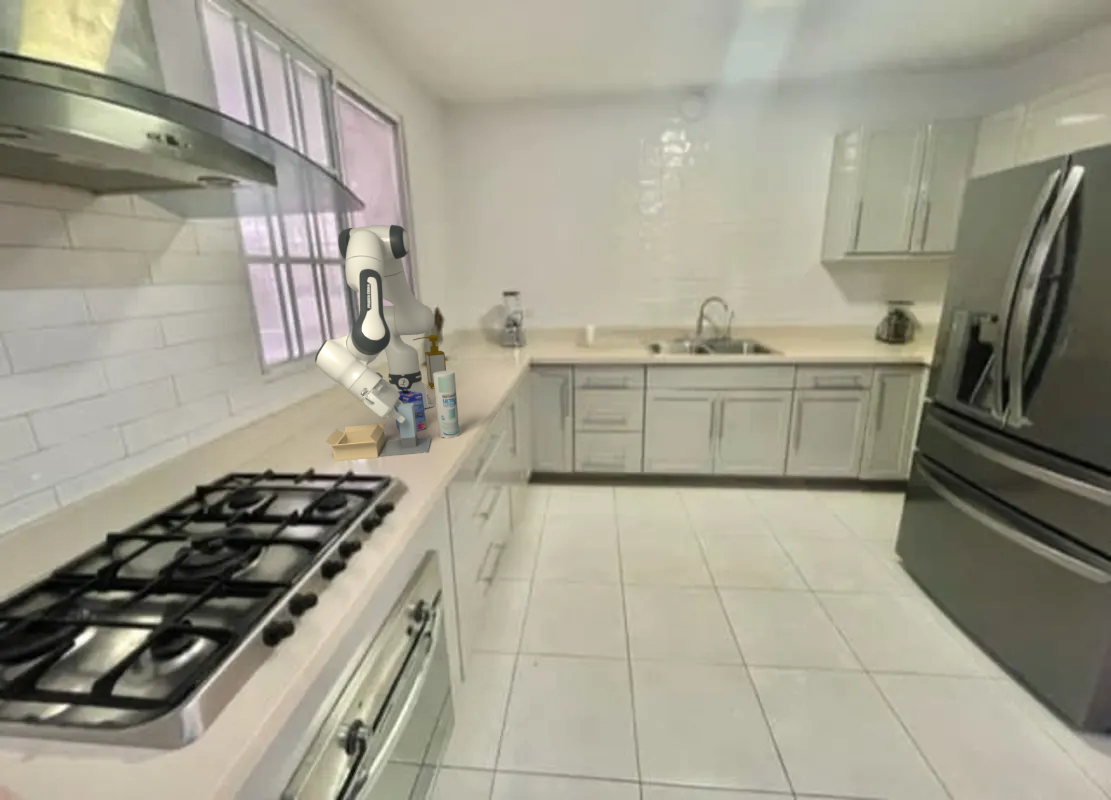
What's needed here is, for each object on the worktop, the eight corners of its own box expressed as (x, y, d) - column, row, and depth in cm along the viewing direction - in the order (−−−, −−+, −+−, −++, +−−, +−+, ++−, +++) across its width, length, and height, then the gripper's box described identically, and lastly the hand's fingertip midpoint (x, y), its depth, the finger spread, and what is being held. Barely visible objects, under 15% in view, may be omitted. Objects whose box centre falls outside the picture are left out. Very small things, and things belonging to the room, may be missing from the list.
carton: (340, 444, 165) (338, 425, 164) (386, 440, 167) (384, 421, 166) (325, 464, 147) (321, 443, 146) (376, 459, 149) (374, 439, 148)
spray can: (444, 439, 165) (438, 375, 161) (435, 435, 170) (429, 372, 166) (463, 435, 169) (458, 372, 164) (454, 431, 174) (449, 369, 169)
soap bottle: (416, 387, 247) (410, 335, 241) (443, 383, 252) (439, 333, 246) (419, 390, 240) (414, 337, 235) (447, 386, 245) (442, 334, 240)
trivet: (387, 442, 165) (387, 440, 164) (431, 439, 166) (430, 437, 166) (380, 456, 152) (380, 454, 152) (427, 452, 154) (427, 450, 154)
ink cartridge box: (395, 428, 180) (390, 385, 177) (409, 424, 185) (404, 382, 181) (413, 432, 174) (408, 388, 171) (427, 428, 178) (422, 385, 175)
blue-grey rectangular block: (404, 443, 161) (399, 404, 159) (417, 441, 162) (413, 403, 159) (401, 448, 157) (397, 408, 154) (416, 447, 157) (411, 407, 154)
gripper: (367, 384, 143) (408, 417, 147) (379, 371, 163) (416, 400, 167) (352, 402, 144) (393, 434, 147) (366, 387, 164) (403, 415, 167)
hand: (405, 416), depth 157 cm, fingers open, 8 cm apart
